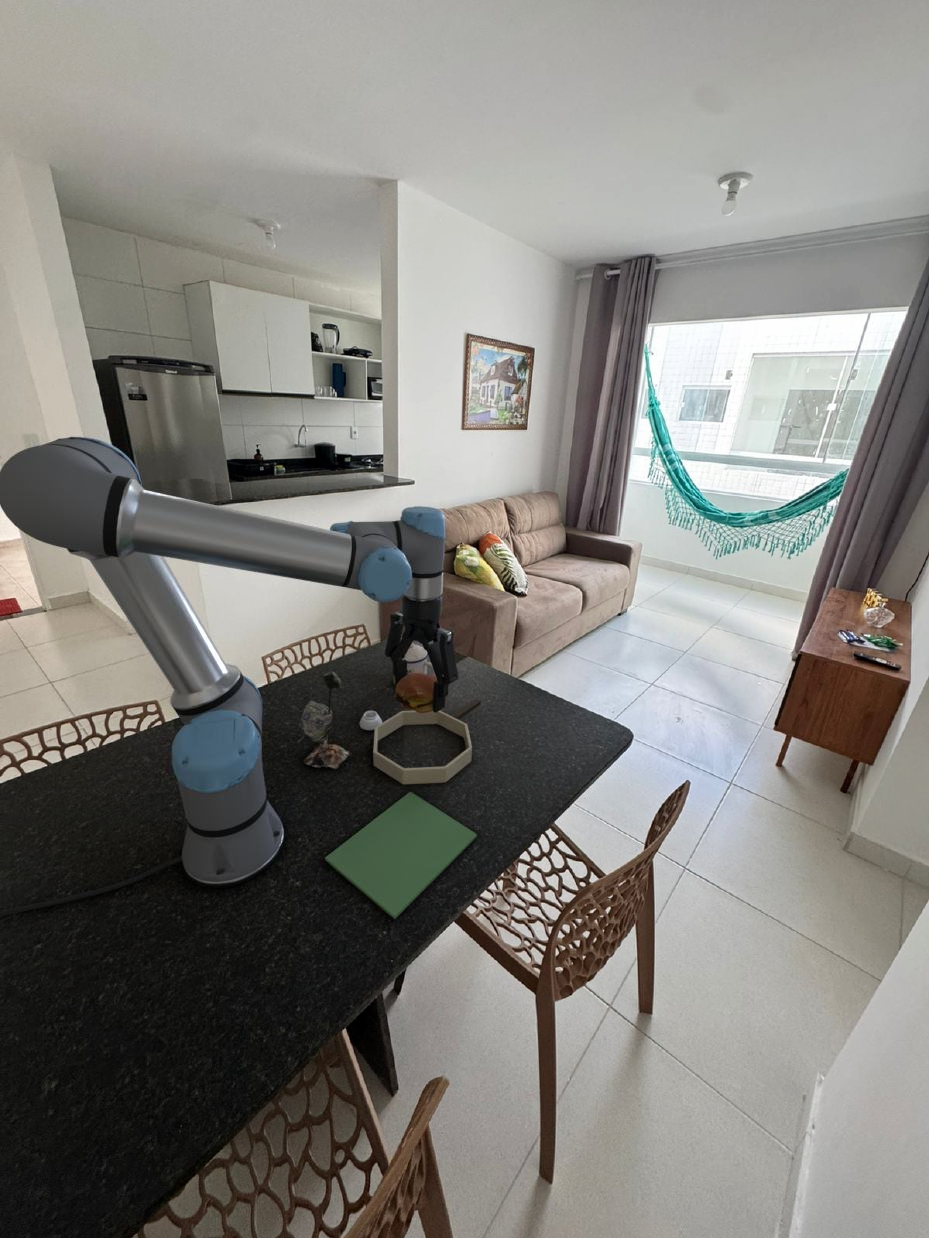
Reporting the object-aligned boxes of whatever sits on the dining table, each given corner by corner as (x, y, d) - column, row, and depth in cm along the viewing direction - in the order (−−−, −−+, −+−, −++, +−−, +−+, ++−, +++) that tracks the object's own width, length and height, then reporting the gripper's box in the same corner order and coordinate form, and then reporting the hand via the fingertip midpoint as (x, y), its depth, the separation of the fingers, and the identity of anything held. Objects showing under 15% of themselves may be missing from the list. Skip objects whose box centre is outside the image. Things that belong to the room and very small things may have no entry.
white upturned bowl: (357, 731, 115) (380, 732, 115) (357, 720, 114) (379, 721, 114) (362, 718, 119) (383, 719, 120) (361, 707, 118) (383, 708, 118)
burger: (433, 684, 107) (433, 665, 105) (451, 708, 100) (452, 687, 98) (387, 693, 103) (387, 673, 101) (403, 719, 96) (403, 697, 94)
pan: (425, 798, 97) (425, 784, 95) (354, 753, 108) (353, 739, 106) (512, 727, 119) (513, 715, 117) (446, 696, 130) (446, 684, 128)
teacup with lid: (386, 686, 133) (385, 646, 128) (403, 671, 140) (403, 632, 136) (427, 697, 129) (428, 657, 124) (442, 681, 136) (444, 642, 132)
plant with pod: (318, 737, 112) (311, 657, 104) (357, 756, 107) (353, 673, 99) (289, 757, 106) (279, 673, 98) (329, 778, 101) (322, 691, 93)
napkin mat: (394, 919, 74) (394, 916, 74) (324, 860, 83) (324, 857, 83) (477, 836, 89) (477, 834, 89) (410, 793, 98) (410, 791, 98)
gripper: (483, 605, 89) (475, 712, 98) (392, 575, 101) (392, 673, 110) (457, 617, 84) (450, 730, 93) (364, 584, 96) (366, 687, 105)
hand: (419, 699), depth 101 cm, fingers closed on burger, 9 cm apart
